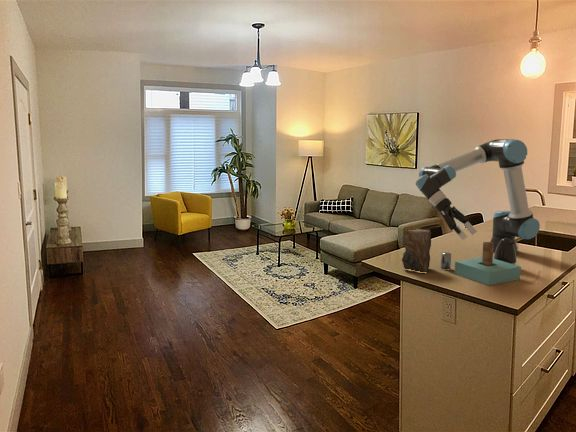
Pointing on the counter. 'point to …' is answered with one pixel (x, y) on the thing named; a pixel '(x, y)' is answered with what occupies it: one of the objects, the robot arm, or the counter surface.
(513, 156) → the robot arm
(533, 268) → the counter surface
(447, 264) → the short steel pin
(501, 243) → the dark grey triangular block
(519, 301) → the counter surface
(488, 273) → the socket block
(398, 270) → the counter surface
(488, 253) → the long walnut pin
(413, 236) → the rough brown stone
